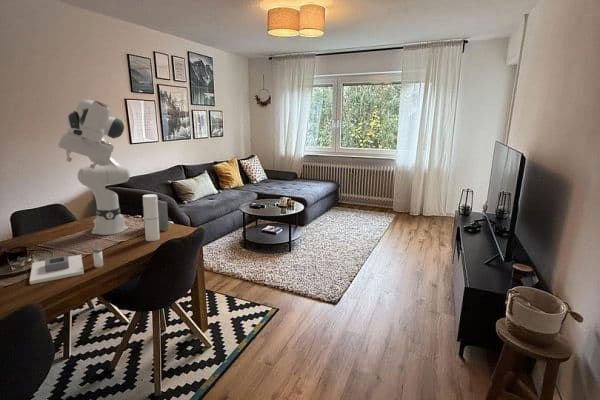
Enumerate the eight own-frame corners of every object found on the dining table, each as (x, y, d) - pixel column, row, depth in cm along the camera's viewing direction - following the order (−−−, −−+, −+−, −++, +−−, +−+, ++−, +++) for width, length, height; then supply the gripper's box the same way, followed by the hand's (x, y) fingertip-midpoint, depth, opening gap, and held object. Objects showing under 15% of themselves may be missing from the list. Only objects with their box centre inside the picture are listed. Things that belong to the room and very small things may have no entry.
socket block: (33, 265, 144) (31, 256, 143) (81, 257, 155) (80, 248, 154) (30, 284, 129) (28, 274, 128) (84, 273, 139) (82, 264, 138)
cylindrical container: (154, 241, 178) (151, 197, 172) (142, 240, 180) (139, 196, 174) (162, 237, 185) (159, 194, 179) (151, 236, 186) (148, 193, 181)
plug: (94, 265, 148) (92, 248, 146) (103, 263, 150) (101, 247, 148) (94, 268, 145) (92, 251, 143) (103, 266, 147) (102, 249, 145)
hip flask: (143, 228, 199) (141, 196, 194) (147, 226, 203) (145, 195, 198) (166, 231, 196) (164, 199, 191) (170, 229, 199) (168, 197, 195)
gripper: (112, 144, 157) (102, 171, 156) (63, 126, 142) (52, 156, 141) (117, 145, 153) (107, 173, 152) (67, 127, 138) (55, 157, 137)
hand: (80, 164), depth 146 cm, fingers open, 8 cm apart
